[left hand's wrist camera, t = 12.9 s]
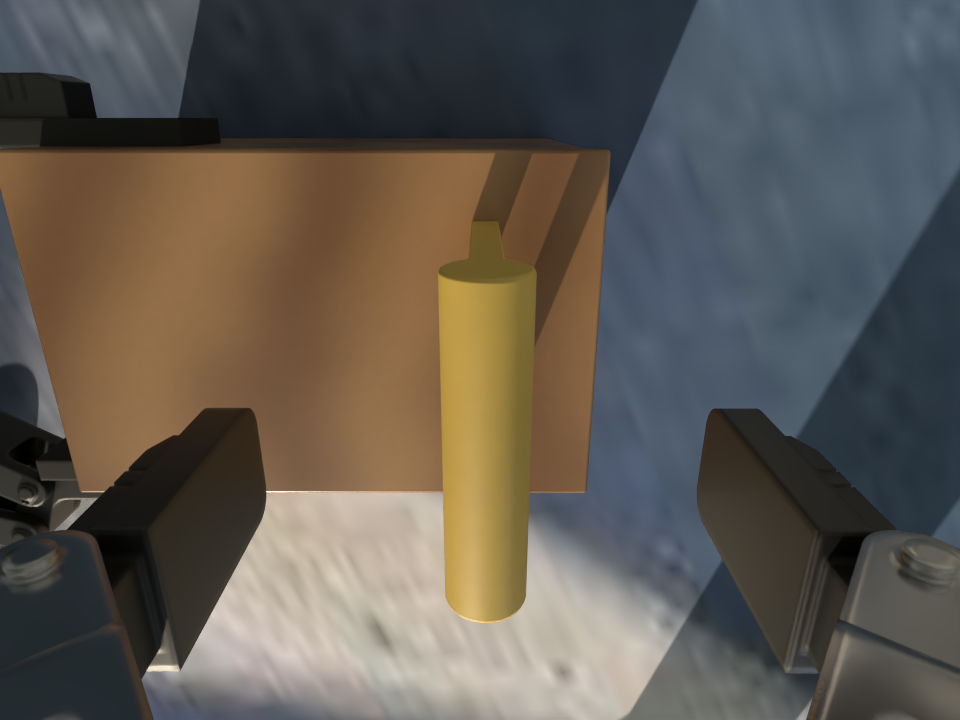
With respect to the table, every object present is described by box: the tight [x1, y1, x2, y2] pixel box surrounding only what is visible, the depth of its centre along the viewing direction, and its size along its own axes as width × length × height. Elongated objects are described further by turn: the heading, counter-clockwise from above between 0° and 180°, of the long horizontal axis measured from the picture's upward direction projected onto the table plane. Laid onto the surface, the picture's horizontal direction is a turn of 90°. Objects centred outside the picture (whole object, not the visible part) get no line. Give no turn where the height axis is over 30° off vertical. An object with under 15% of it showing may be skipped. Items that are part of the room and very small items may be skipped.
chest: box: [22, 138, 581, 148], centre depth 22 cm, size 15×10×9 cm, turn 90°
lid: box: [0, 148, 611, 623], centre depth 14 cm, size 15×10×8 cm, turn 90°
